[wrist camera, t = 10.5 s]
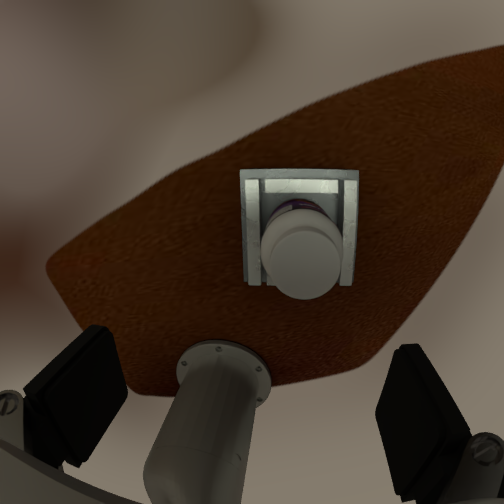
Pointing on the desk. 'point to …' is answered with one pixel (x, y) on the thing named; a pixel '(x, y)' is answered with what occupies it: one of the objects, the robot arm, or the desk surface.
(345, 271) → the grey open box
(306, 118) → the desk surface
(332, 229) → the pill bottle
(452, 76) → the desk surface
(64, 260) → the desk surface
